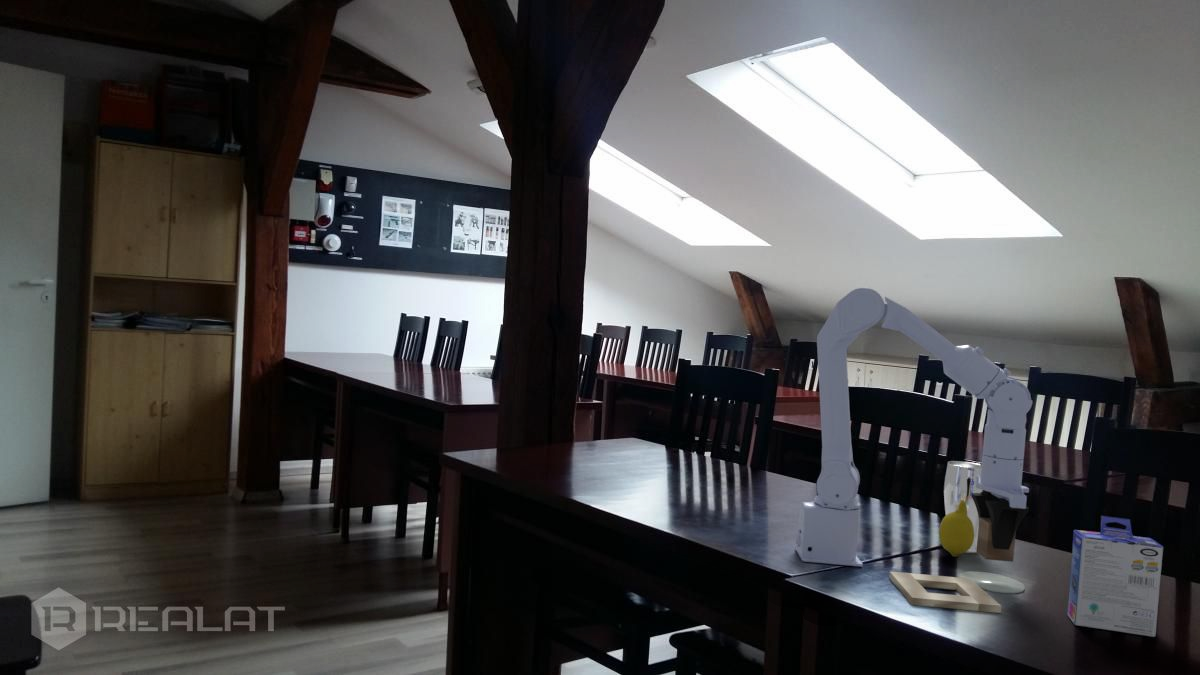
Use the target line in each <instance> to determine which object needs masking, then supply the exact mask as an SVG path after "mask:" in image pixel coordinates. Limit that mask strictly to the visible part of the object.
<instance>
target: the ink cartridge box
mask: <svg viewBox="0 0 1200 675" xmlns="http://www.w3.org/2000/svg"><path fill="white" fill-rule="evenodd" d="M1110 523H1111V524H1113V523H1117V524H1120V525H1123V526H1125V529H1123V528H1118V527H1117V528H1116V527H1111V526H1110V527H1108V526H1107V525H1106V524H1110ZM1131 525H1132V524H1131V519H1128V518H1121V517H1114V516H1113V517H1112V516H1106V515H1100V532H1099V531H1091V530H1089V531H1088V530H1081V529H1080V530H1078V529H1074V530H1073V534H1072V551H1071V552H1072V554H1071V567H1070V582H1069V592H1068V593H1069V594H1068V595H1069V596H1068V604H1067V605H1068V606H1067V617H1068V618H1069V619H1070V620H1071V622H1072V623H1073V625H1074V626H1080V627H1087V628H1093V629H1098V630H1099V629H1101V630H1104V631H1105V630H1107V631H1112V632H1120V633H1125V634H1132V635H1139V636H1145V637H1146V636H1147V637H1151V638H1155V637H1156V636H1157V622H1158V610H1159V608H1158V607H1159V599H1160V598H1159V597H1160V586H1161V576H1162V575H1161V573H1162V566H1163V562H1162V561H1163V555H1164V546H1163V545H1161V544H1160V543H1159V542H1157V541H1156V540H1154V539H1153V538H1151V537H1143V536H1135V535H1133V531H1132V526H1131Z"/></svg>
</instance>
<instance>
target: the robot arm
mask: <svg viewBox="0 0 1200 675" xmlns="http://www.w3.org/2000/svg"><path fill="white" fill-rule="evenodd" d="M884 300H885V301H884ZM885 302H886V303H885ZM881 321H882V324H881V328H882V329H886V330H893V331H898V332H901V333H902V334H904V335H905V336H906V337H908V338H910V339H911V340H912V341H913V342H915V343H916V344H918V345H919V346H921V348H924V349H925V350H926V351H928V352H929V353H930V354H932V355H934V356H935V357H936V358H937V359H939V360H940V361H941V362H942V367H943V374H945V375H946V376H947V377H948V378H949V379H951V380H952V381H954V382H955V383H956V384H957V385H959V386H960V387H962V388H963V389H964V390H966V391H967V392H968V393H969V394H971V395H972V396H974V397H975V398H976V399H978V400H980V399H983V400H984V402H985V404H986V406H987V407H988V408H987V415H986V416H987V417H986V424H984V434H983V435H984V436H983V444H982V445H983V447H982V456H981V465H982V467H981V476H977V478H976V488H979V489H982V492H981V493H972V494H971V496H972V498H973V501H974V503H975V505H976V508H977V512H978V516H979V517H983V518H991V524H992V542H993V547H994V548H995V549H1006V550H1009V548H1010V546H1011V543H1012V540H1013V537H1014V534H1015V532H1016V531H1017V529H1018V527H1019V525H1020V524H1021V521H1022V520H1023V519H1024V518H1025V516H1026V515H1027V514H1028V512H1029V507H1028V506H1027V498H1028V496H1027V495H1025V494H1026V493H1029V492H1030V488H1029V487H1027V486H1025V485H1022V482H1023V481H1022V480H1023V470H1024V458H1025V448H1026V435H1027V429H1026V424H1027V413H1028V412H1029V411H1030V410H1031V408H1032V406H1033V400H1032V397H1031V392H1030V391H1029V389H1028V387H1027V386H1026V385H1024V383H1022V382H1020V381H1018V380H1017V379H1016V378H1014V377H1011V376H1010V374H1011V371H1010V370H1009V369H1007V368H1006V367H1004V368H1003V369H1002V368H1001V367H1000V366H999V365H996V364H995V363H994V362H992V360H990V359H989V358H987V357H986V356H985V355H984V354H985V351H984V350H983V349H982V348H980V347H979V346H976V347H975V348H974V347H972V346H971V345H970V344H965V345H955V344H953V343H952V342H951V341H950V340H948V339H947V338H946V337H944V336H943V335H942V334H941V333H939V332H938V331H936V330H935V329H934V328H933V327H931V326H930V325H929V324H928V323H927V322H925V321H924V320H923V319H921V318H920V317H919V316H917V315H916V314H915V313H914V312H912V311H911V310H910V309H909V308H907V307H906V306H903V305H901V304H900V303H898V302H895V301H894V300H892V299H890V298H888V297H886V296H884V299H883V297H882V296H881V294H880V293H879V291H876V290H875V289H873V288H869V287H865V286H864V287H858V288H855V289H853V290H851V291H850V292H848V293H847V294H846V295H845V296H844V297H842V298H841V299H839V300H838V301H837V303H836V304H835V306H834V308H833V310H832V311H831V313H830V314H829V316H828V318H827V319H826V321H825V322H824V324H823V326H822V327H821V329H820V331H819V332H818V334H817V335H816V336H817V338H816V347H817V349H816V350H817V369H818V388H819V406H820V407H819V408H820V423H821V424H820V428H821V447H822V448H821V470H820V473H819V476H818V478H817V480H816V491H817V494H818V495H816V496H814V499H813V501H800V502H801V503H800V504H799V507H798V508H799V509H798V518H797V529H796V540H795V541H796V542H795V550H796V552H797V554H798V556H799V558H800V560H801V561H802V562H804V563H806V562H807V563H818V564H827V565H828V564H829V565H840V566H849V567H850V566H852V567H863V565H864V563H863V562H862V561H861V560H860V558H859V557H858V556H857V550H858V549H857V548H858V547H857V546H858V536H859V526H860V525H859V524H860V511H861V510H860V509H861V503H860V502H859V501H858V500H857V499H856V497H857V495H858V491H859V485H860V484H861V483H860V482H861V476H860V472H859V469H858V468H857V467H856V466H855V463H854V458H853V446H852V434H851V433H852V432H851V412H850V392H849V372H848V355H847V348H848V347H849V346H850V345H851V344H852V343H853V342H854V341H855V340H856V339H857V338H858V337H859V336H860V335H861V333H864V332H865V331H868V330H869V329H870V328H872V327H875V326H876V325H877V324H879V323H880V322H881Z"/></svg>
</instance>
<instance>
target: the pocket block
mask: <svg viewBox="0 0 1200 675" xmlns="http://www.w3.org/2000/svg"><path fill="white" fill-rule="evenodd" d="M888 579H889V580H890V581H891V582H892V583H893V584H894V585H895V587H896V588H897V589H898V590H899V591H900V593H901V594H902V595H903V596H904V597H905V599H907V601H908V602H909V603H910V605H912V606H923V607H932V608H933V607H934V608H943V609H952V610H953V609H954V610H955V609H956V610H963V611H965V610H966V611H975V612H976V611H977V612H985V613H995V614H996V613H997V614H998V613H999V614H1001V613H1002V605H1001V604H1000V603H998V601H996V599H994V598H993V597H992V596H990V594H988V593H987V592H986V590H983V589H981V588H980V587H979V586H978V585H977V584H976V583H975V582H974V581H972V580H971V579H969V578H960V577H956V576H947V575H946V576H944V575H935V574H934V575H933V574H922V573H910V572H901V571H890V570H889V574H888ZM925 588H932V589H944V590H956V591H957V592H958V593H959V594H960V595H959V594H947V593H936V592H929V591H927V590H926V589H925Z"/></svg>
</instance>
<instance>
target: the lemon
mask: <svg viewBox="0 0 1200 675" xmlns="http://www.w3.org/2000/svg"><path fill="white" fill-rule="evenodd" d="M938 538H939V542H940V544H941V546H942V548H943V549H945V551H947V552H948V553H950V555H951V556H952V557H955V558H956V557H958V556H960V555H961V554H966V553H965V552H966V551H968V550H969V549H970V548H971V546H972V544H973V541H974V527H973V524H972V521H971V520H970V518H969V517H968V516H966V515H965V514H963V513H962V512H961V511H959V510H956V511H955V512H952V513H949V514H947V515H946V514H945V516H944V517H943V518H942V520H941V522H940V525H939V529H938Z"/></svg>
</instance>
